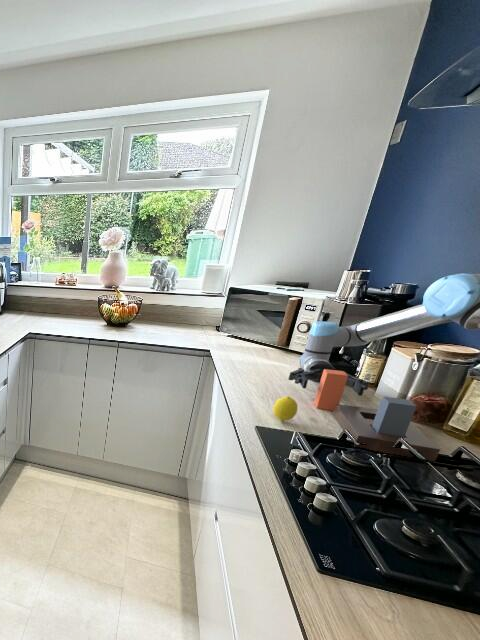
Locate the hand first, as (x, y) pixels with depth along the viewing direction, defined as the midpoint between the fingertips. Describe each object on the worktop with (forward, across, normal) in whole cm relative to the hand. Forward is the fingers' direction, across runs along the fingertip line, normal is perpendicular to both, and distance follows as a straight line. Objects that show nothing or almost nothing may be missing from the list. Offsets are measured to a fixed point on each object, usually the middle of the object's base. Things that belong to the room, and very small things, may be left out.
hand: (332, 387), depth 125 cm
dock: (+16, -8, -7) cm, 20 cm away
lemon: (+18, +13, -8) cm, 24 cm away
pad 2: (+22, -8, -7) cm, 24 cm away
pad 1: (-2, 0, -7) cm, 8 cm away
